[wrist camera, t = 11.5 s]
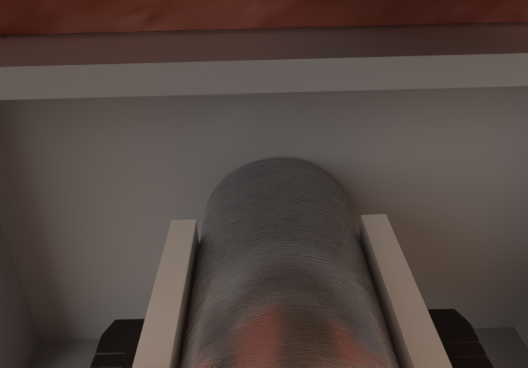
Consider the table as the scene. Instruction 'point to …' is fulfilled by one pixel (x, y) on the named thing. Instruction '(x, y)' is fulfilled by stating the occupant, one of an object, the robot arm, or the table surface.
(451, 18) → the table surface
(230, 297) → the silver metal cylinder
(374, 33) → the tray
